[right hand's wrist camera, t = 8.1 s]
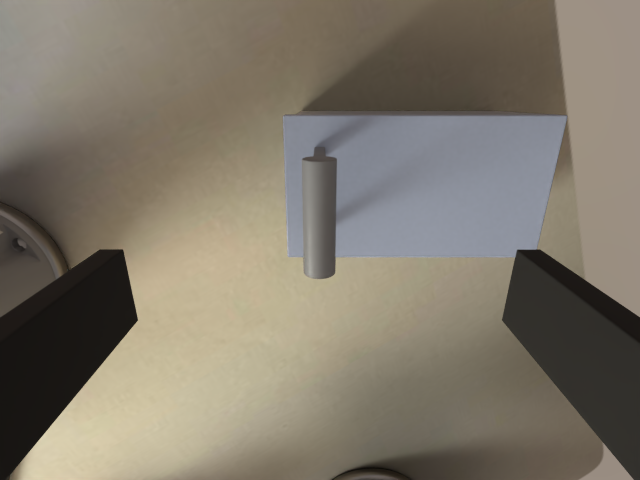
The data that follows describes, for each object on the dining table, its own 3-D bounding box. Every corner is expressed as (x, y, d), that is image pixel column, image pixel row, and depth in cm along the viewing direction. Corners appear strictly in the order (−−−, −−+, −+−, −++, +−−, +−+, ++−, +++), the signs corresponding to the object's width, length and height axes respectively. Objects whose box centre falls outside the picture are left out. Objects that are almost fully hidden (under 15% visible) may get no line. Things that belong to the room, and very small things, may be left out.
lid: (289, 250, 28) (277, 308, 20) (284, 114, 24) (268, 121, 17) (526, 250, 28) (605, 308, 20) (556, 114, 24) (666, 121, 17)
